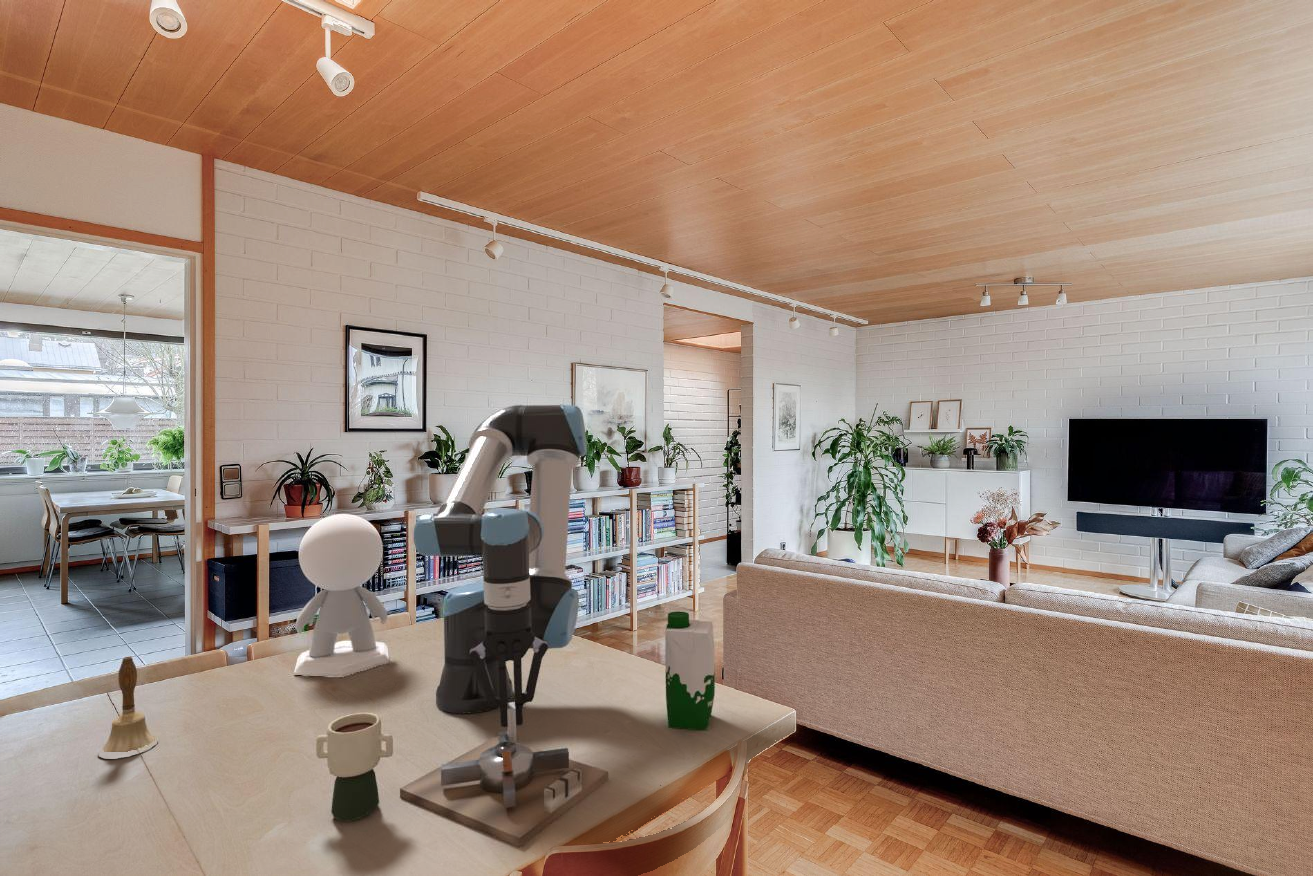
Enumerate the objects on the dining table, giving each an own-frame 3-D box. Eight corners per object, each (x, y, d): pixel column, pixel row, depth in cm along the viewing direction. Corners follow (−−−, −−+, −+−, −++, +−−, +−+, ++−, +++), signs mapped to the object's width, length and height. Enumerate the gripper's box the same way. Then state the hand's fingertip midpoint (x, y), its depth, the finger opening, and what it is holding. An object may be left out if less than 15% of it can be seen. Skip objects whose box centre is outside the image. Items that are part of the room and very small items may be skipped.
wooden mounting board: (400, 796, 101) (399, 768, 101) (496, 743, 119) (496, 719, 118) (519, 847, 89) (519, 815, 89) (608, 779, 106) (608, 752, 106)
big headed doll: (386, 642, 176) (384, 507, 175) (390, 671, 155) (388, 518, 154) (299, 653, 168) (297, 512, 167) (291, 685, 147) (288, 523, 146)
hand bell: (169, 741, 120) (168, 652, 120) (119, 763, 112) (117, 668, 112) (137, 735, 123) (135, 647, 123) (86, 756, 115) (84, 662, 115)
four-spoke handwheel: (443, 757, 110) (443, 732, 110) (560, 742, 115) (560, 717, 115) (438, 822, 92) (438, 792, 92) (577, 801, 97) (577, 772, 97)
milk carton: (671, 709, 132) (670, 607, 132) (717, 713, 130) (716, 609, 130) (662, 729, 123) (661, 620, 123) (711, 733, 122) (710, 622, 121)
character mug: (402, 798, 101) (401, 711, 101) (384, 826, 94) (382, 733, 94) (329, 799, 101) (327, 712, 101) (305, 827, 94) (303, 734, 94)
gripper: (466, 614, 107) (472, 761, 107) (549, 606, 110) (553, 749, 111) (467, 601, 114) (472, 739, 115) (544, 594, 117) (549, 728, 118)
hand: (512, 744), depth 113 cm, fingers closed
